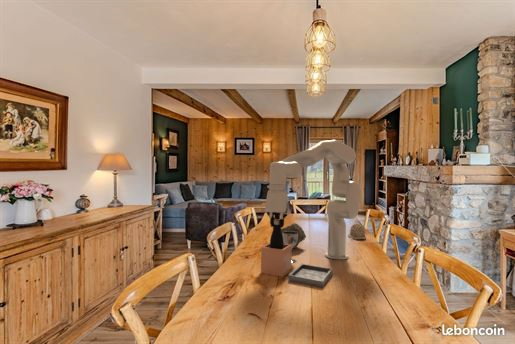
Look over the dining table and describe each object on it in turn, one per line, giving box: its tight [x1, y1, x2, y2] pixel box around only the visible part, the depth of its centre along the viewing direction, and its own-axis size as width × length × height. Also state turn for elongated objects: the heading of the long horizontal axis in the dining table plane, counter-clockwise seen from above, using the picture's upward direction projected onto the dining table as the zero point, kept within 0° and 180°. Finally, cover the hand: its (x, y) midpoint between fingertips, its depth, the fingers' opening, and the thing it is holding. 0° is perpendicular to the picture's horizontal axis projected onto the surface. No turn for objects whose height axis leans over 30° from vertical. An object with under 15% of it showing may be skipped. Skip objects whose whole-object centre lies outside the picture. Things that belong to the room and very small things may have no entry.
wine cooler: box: [260, 242, 293, 278], centre depth 144 cm, size 11×11×12 cm
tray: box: [287, 263, 333, 288], centre depth 137 cm, size 18×15×2 cm
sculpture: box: [347, 223, 367, 240], centre depth 218 cm, size 12×17×10 cm
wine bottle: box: [269, 212, 284, 249], centre depth 144 cm, size 6×6×30 cm
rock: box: [281, 222, 307, 249], centre depth 184 cm, size 18×14×15 cm
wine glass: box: [283, 231, 298, 264], centre depth 160 cm, size 8×8×15 cm
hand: (277, 226), depth 144 cm, fingers closed on wine bottle, 3 cm apart
